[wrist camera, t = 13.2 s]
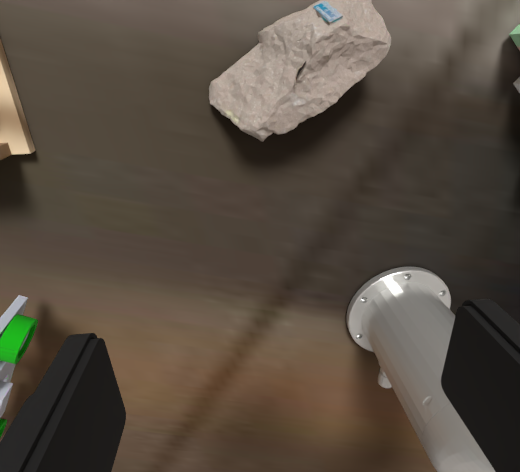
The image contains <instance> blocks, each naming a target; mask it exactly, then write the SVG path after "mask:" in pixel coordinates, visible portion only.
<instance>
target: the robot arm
mask: <svg viewBox="0 0 520 472" xmlns="http://www.w3.org/2000/svg"><path fill="white" fill-rule="evenodd" d="M450 305H451V297H450V293H449V290H448V287H447V286H446V285H445V283H444V282H443V281H442V280H441V279H440V278H439V277H438V276H437V275H436V274H434V273H433V272H431V271H429V270H426V269H423V268H419V267H400V268H395V269H391V270H388V271H386V272H383V273H381V274H379V275H377V276H375V277H373V278H372V279H370V280H369V281H368V282H366V283H365V284H364V285H363V286H362V287H361V288H360V289H359V290H358V291H357V292H356V294H355V295H354V297H353V298H352V300H351V302H350V304H349V306H348V310H347V315H346V322H347V326H348V330H349V332H350V334H351V336H352V338H353V339H354V341H355V342H356V343H357V344H358V345H360V346H361V347H362V348H364V349H366V350H368V351H371V352H374V353H375V355H376V357H377V359H378V362H379V365H380V367H381V368H380V370H379V376H378V383H379V385H381V386H382V387H384V388H391V387H392V388H393V390H394V392H395V394H396V396H397V397H398V399H399V401H400V403H401V405H402V407H403V409H404V411H405V413H406V415H407V417H408V419H409V421H410V423H411V425H412V426H413V428H414V430H415V432H416V434H417V436H418V438H419V440H420V442H421V444H422V446H423V448H424V449H425V451H426V453H427V455H428V457H429V459H430V461H431V463H432V464H433V466H434V468H435V469H436V470H437V472H520V325H519V324H518V323H517V322H516V321H515V320H514V319H513V318H512V317H510V316H509V315H508V314H507V313H506V312H505V311H504V310H503V309H502V308H500V307H499V306H498V305H497V304H496V303H495V302H494V301H492V300H491V299H477V300H467V301H465V302H464V303H463V304H462V306H461V307H459V308H458V309H457V312H456V316H455V315H454V314H453V313H452V312H451V310H450ZM125 420H126V412H125V407H124V404H123V401H122V398H121V394H120V391H119V388H118V384H117V381H116V378H115V375H114V371H113V368H112V365H111V361H110V358H109V355H108V352H107V348H106V345H105V342H104V340H103V339H102V338H97V336H96V335H95V334H94V333H88V334H76V335H70V336H68V337H67V339H66V340H65V342H64V344H63V345H62V347H61V349H60V350H59V352H58V354H57V355H56V357H55V359H54V360H53V362H52V364H51V365H50V367H49V369H48V371H47V372H46V374H45V376H44V377H43V379H42V381H41V382H40V384H39V386H38V387H37V389H36V391H35V392H34V394H32V395H31V396H29V397H28V399H27V400H26V401H25V403H24V404H23V406H22V408H21V409H20V411H19V413H18V414H17V416H16V418H15V419H14V421H13V423H12V424H11V426H10V427H9V429H8V431H7V432H6V434H5V436H4V437H3V439H2V441H1V442H0V472H111V470H112V467H113V463H114V460H115V457H116V453H117V450H118V446H119V443H120V439H121V436H122V432H123V429H124V425H125Z"/></svg>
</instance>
